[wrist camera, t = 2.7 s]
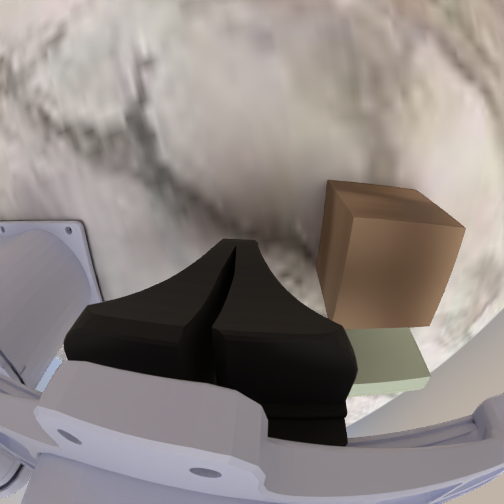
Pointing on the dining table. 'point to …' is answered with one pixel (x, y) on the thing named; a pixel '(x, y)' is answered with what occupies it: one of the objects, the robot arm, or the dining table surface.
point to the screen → (386, 361)
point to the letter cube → (384, 255)
